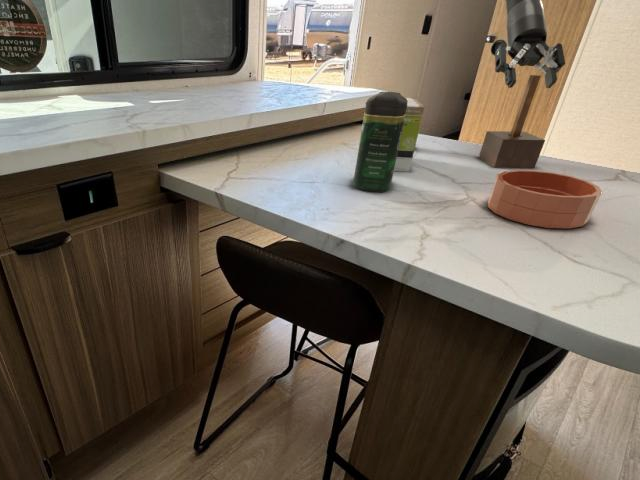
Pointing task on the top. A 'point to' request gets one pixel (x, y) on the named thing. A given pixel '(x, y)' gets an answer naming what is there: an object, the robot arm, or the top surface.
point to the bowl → (543, 198)
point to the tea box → (409, 135)
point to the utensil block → (511, 150)
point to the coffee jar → (379, 141)
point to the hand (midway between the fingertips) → (531, 85)
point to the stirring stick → (525, 105)
